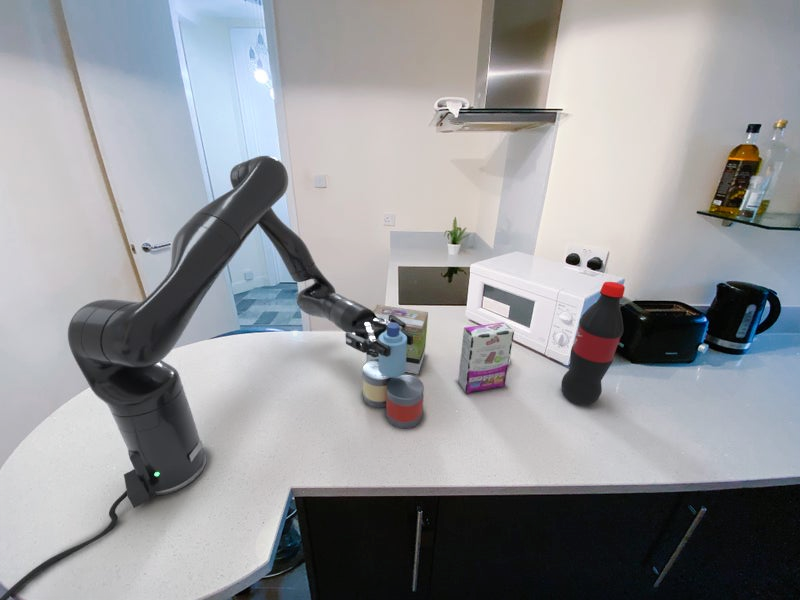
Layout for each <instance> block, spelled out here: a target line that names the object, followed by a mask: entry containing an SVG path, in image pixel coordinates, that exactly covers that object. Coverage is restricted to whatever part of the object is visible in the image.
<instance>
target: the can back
mask: <svg viewBox="0 0 800 600" xmlns="http://www.w3.org/2000/svg"><path fill="white" fill-rule="evenodd" d="M391 378H393V377H387V376H384V375H382V374H381V373H380V372H379V359H375V360H371V361H369V362H367V361H366V363H364V365H363V366H362V393H363V394H362V395H363V396H362V397H363V400H364V402H365V403H366V404H367V405H368V406H370V407H373V408H376V409H377V408H378V409H379V408H386V392H387V383H388V381H389V380H390V379H391Z"/></svg>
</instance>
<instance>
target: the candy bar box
mask: <svg viewBox="0 0 800 600" xmlns="http://www.w3.org/2000/svg"><path fill="white" fill-rule="evenodd" d="M514 336H515V330H514V329H513V328H512V327H510V326H509V325H507V323H505V322H503V321H502V322H497V323H487V324H481V325H473V326H466V327H463V332H462V343H461V353H460V362H459V371H458V381H457V382H458V384H459V386H460V387H461V389H462V390H463V391H464V393H465V394H470V393H477V392H480V391H481V392H482V391H486V390H493V389H496V388H502V387H505V385H506V379H507V376H508V375H507V374H508V368H509V365H510V363H509V358H510V359H511V357H510V353H511V354H512V347H513V340H514Z"/></svg>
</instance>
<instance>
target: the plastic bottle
mask: <svg viewBox="0 0 800 600" xmlns="http://www.w3.org/2000/svg"><path fill="white" fill-rule="evenodd" d="M379 341H381V342H382V343H384V344H386V345H387V346H389V347H390V356H388V357H386V356H383V355H380V354H379V372H380V373H381V374H382V375H384V376H387V377H398V376H401V375H405V373H406V372H405V370H406V352H407V336H406V335H405V334H404V333H402V332H401V331H400V330H399V324H398V323H395V322H391V323H388V324H387V330H386V331H385V332H383V333H382V334H380V336H379Z"/></svg>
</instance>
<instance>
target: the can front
mask: <svg viewBox="0 0 800 600" xmlns="http://www.w3.org/2000/svg"><path fill="white" fill-rule="evenodd" d="M424 391H425V386H424V383H423V381H422V380H421V379H419V378H418V377H416V376H413V375H410V374H402V375H401V376H398V377H393V378H391V379H390V380H389V381H388V383H387V392H386V407H385V410H386V412H385V416H386V419H387V421H388V423H389V424H391V425H392V426H394V427H396V428H400V429H410V428H414V427H415V426H417V425H419V423H421V421H422V418H423V410H424V394H425V393H424Z"/></svg>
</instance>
